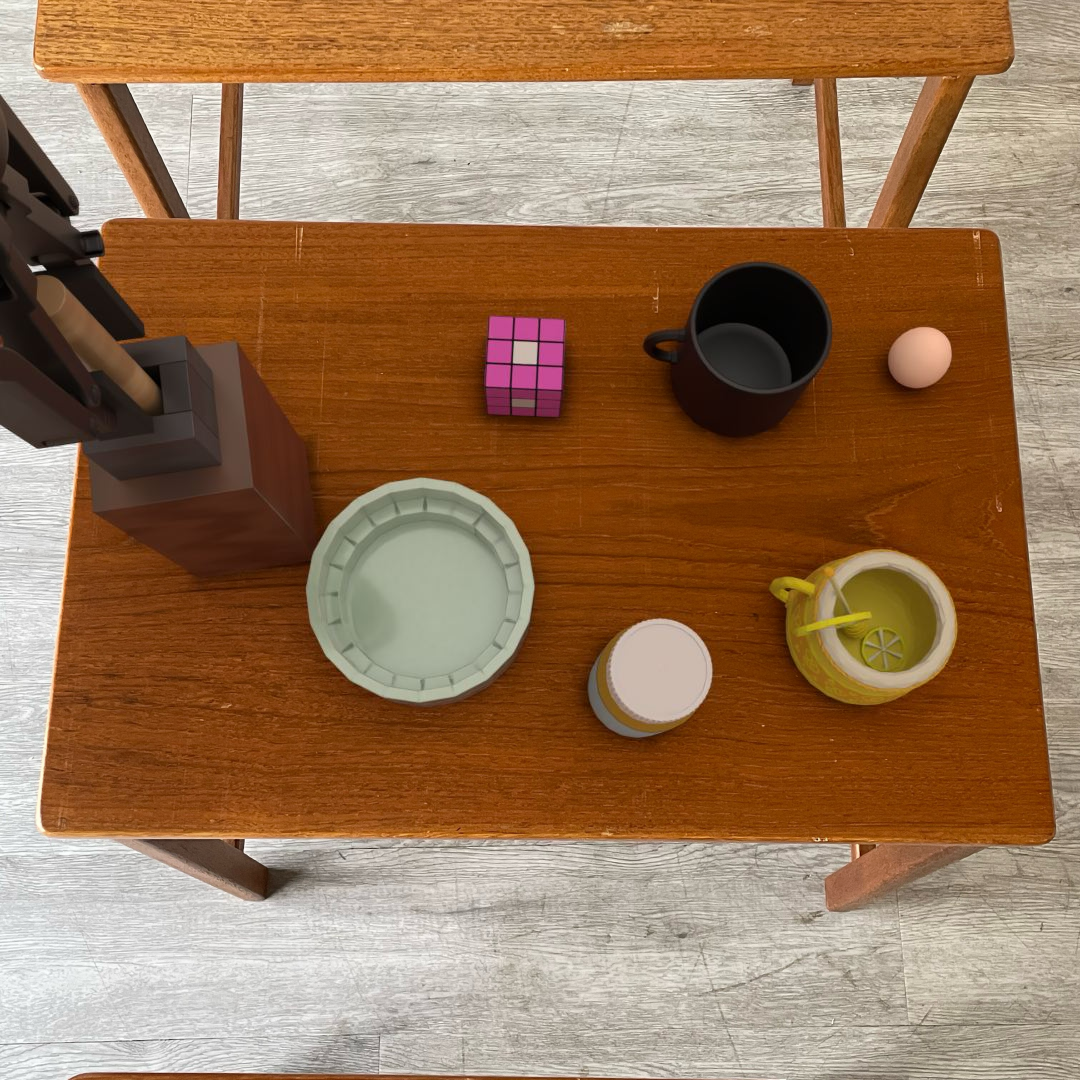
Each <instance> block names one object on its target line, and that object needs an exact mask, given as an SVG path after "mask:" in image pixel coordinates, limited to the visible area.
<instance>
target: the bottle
mask: <svg viewBox="0 0 1080 1080" xmlns="http://www.w3.org/2000/svg"><path fill="white" fill-rule="evenodd" d="M713 670H714V669H713V663H712V657H711V655H710V652H709V650H708V647H707V646H706V644H705V642H704V641H703V640H702V638H701V636H699V635H698V634H697V632H695V631H694V629H692V628H690V627H689V626H687V625H685V624H684V623H682V622H679V621H677V620H673V619H667V618H660V617H658V618H652V619H647V620H642V621H641V622H637V623H635V624H632V625H630V626H628V627H626V628H624V629H622V630H621V631H619V632H617V633H616V634H615V635H614V636H613V637H612V638H611V639H610V640H609V641H608V642H607V643H606V645H605V646H604V648H603V649H602V651H601V652H600V654H599V655H598V657H597V658H596V659H595V662H594V664H593V665H592V668H591V669H590V673H589V676H588V682H587V693H588V700H589V704H590V706H591V708H592V710H593V713H594V715H595V716H596V718H597V719H598V720H599V721H600V722H601V724H603V725H604V726H605V727H606V728H607V729H609V730H610V731H612V732H614V733H616V734H618V735H619V736H624V737H628V738H637V739H638V738H645V737H646V738H647V737H652V736H655V735H658V734H661V733H664V732H668V731H671V730H673V729H675V728H677V727H679V726H680V725H682V724H684V723H685V722H687V721H688V720H689V719H690V718H691V717H692V716H693V714H695V713H696V711H697V710H698V708H699V707H700V705H701V704H703V703H704V700H705V699H706V697H707V694H709V690H710V689H711V684H712V681H713V680H712V678H713Z"/></svg>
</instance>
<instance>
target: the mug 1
mask: <svg viewBox="0 0 1080 1080" xmlns="http://www.w3.org/2000/svg"><path fill="white" fill-rule="evenodd" d="M691 305H692V306H691V309H690V311H689V314H688V317H687V319H686V322H685V325H684V327H681V328H680V327H679V328H675V329H673V328H671V329H670V328H669V329H662V330H661V329H660V330H658V331H654V332H652V333H649V334H648V335H647V336H646V337H645V338H644V340H643V345H642V350H643V352H644V353H645V354H647V355H648V357H650V358H651V359H654V360H656V361H657V362H661V363H668V364H669V365H670V366H671V370H670V372H671V373H670V374H671V383H672V384H671V385H672V388H673V389H672V390H673V392H674V394H675V398H676V399H677V401H678V403H679V404H680V407H681V408H682V409H683V411H684V412H685V413H686V414H687V416H689V417H690V418H691V419H692V420H693V421H694V422H695V423H697V424H698V425H699V426H701V427H703V428H704V429H707V430H708V431H711V432H712V433H716V434H719V435H723V436H729V437H750V436H754V435H759V434H761V433H764V432H766V431H767V430H770V429H772V428H773V427H774V426H776V425H778V424H779V423H780V422H781V421H783V420H784V418H785V417H786V416H787V415H788V413H789V412H790V411H791V409H792V408H793V407H794V406H795V404H796V403H797V401H798V400H799V399H800V397H801V396H802V394H803V393H804V392H805V390H806V389H807V388H808V386H809V385H810V384H811V382H812V381H813V379H814V378H815V377H816V375H817V374H818V373H819V372H820V370H821V369H822V367H823V366H824V364H825V363H826V360H827V358H828V356H829V354H830V351H831V348H832V343H833V334H834V333H833V321H832V317H831V313H830V310H829V307H828V305H827V303H826V301H825V299H824V297H823V295H822V294H821V292H820V291H819V290H818V289H817V288H816V286H815V285H814V284H813V283H812V282H811V281H810V280H808V278H806V277H805V276H803V275H802V274H800V273H799V272H798V271H795V270H794V269H792V268H790V267H787V266H785V265H781V264H779V263H774V262H769V261H746V262H741V263H737V264H734V265H731V266H729V267H726V268H725V269H721V271H719V272H717V273H716V274H714V275H713V276H711V278H710V279H709V280H707V281H706V282H705V283H704V285H703V286H702V287H701V288H700V290H699V291H698V293H697V295H696V297H695V299H694V300H693V303H692V304H691ZM666 342H677V343H678V344H677V347H676V350H673V349H672V350H665V349H662V348H659V347H658V346H657V345H658V344H661V343H666Z"/></svg>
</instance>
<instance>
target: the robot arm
mask: <svg viewBox="0 0 1080 1080" xmlns="http://www.w3.org/2000/svg"><path fill="white" fill-rule="evenodd" d="M79 214H80V202H79V198H78V196H77V195H76V193H75V191H74V190H73V188H72V187H71V185H70V184H69V183H68V182H67V180H66V179H65V178H64V176H63V175H62V174H61V173H60V171H59V169H58V168H57V167H56V166H55V164H54V163H53V162H52V161H51V159H50V158H49V157H48V155H47V154H46V152H45V151H44V150H43V149H42V147H41V146H40V144H39V143H38V141H36V139H35V138H34V137H33V136H32V134H31V133H30V131H29V130H28V129H27V127H26V126H25V125H24V123H23V122H22V120H21V119H20V118H19V117H18V116H17V114H16V113H15V111H14V110H13V109H12V107H11V106H10V105H9V103H8V102H7V100H6V99H5V98H4V97H3V96H2V94H1V93H0V426H1V427H3V428H4V429H6V430H7V431H8V432H10V433H12V434H13V435H14V436H16V437H18V438H19V439H21V440H22V441H24V442H26V443H27V444H28V445H29V446H32V447H33V448H34V449H37V450H41V449H49V448H54V447H60V446H69V445H74V444H79V443H80V444H82V442H88V441H94V440H97V439H98V440H99V441H105V440H112V439H118V438H125V437H131V436H138V435H144V434H151V433H154V424H153V418H151V417H150V416H149V415H148V414H147V413H146V412H145V411H144V410H143V409H142V408H141V407H140V406H139V405H138V404H137V403H136V402H135V401H134V400H133V399H132V398H131V397H130V396H129V395H128V394H127V393H126V392H125V391H124V390H123V389H122V388H120V387H119V386H118V385H117V384H116V383H115V382H114V381H113V380H112V379H111V378H110V377H109V376H108V375H107V374H106V373H105V372H104V371H103V370H99V371H92V372H89V371H88V370H87V369H86V367H85V366H84V364H83V363H82V362H81V360H80V359H79V357H78V356H77V355H76V353H75V352H74V350H73V349H72V348H71V346H70V345H69V343H68V342H67V341H66V339H65V338H64V336H63V335H62V333H61V332H60V331H59V329H58V328H57V326H56V325H55V324H54V322H53V321H52V319H51V318H50V317H49V315H48V314H47V312H46V311H45V310H44V308H43V307H42V305H41V304H40V303H39V301H38V300H37V283H38V280H37V278H36V276H39V275H48V276H52V277H55V278H57V279H58V280H59V281H61V283H62V284H63V285H64V286H65V287H66V288H67V289H68V290H69V291H70V292H71V293H72V294H73V295H74V296H75V298H76V299H77V300H78V301H79V302H80V303H81V304H82V305H83V306H84V307H85V308H86V309H87V310H88V311H89V313H90V314H91V315H92V316H93V317H94V318H95V319H96V320H97V321H98V322H99V323H100V324H101V325H102V326H103V328H104V329H105V330H106V331H107V332H108V333H109V334H110V335H111V336H112V337H113V338H114V339H115V340H116V341H117V342H123V341H130V340H136V339H143V338H146V329H145V323H144V322H143V321H142V320H141V318H140V317H139V316H138V315H137V314H136V313H135V311H134V309H132V307H131V306H130V305H129V304H128V303H127V301H126V300H125V298H123V296H122V295H120V293H119V292H118V290H116V289H115V287H114V286H113V285H112V284H111V282H110V281H109V280H108V279H107V278H106V276H105V275H104V273H102V272H101V270H100V268H99V267H98V266H97V265H96V264H95V263H94V261H93V260H92V259H96V258H102V257H105V255H106V246H105V243H104V238H103V236H102V234H101V232H100V231H99V230H98V229H92V230H85V231H80V230H79V229H78V228H76V226H74V225H72V221H71V217H77V216H79ZM39 266H42V267H43V268H44V270H37V271H33V270H32V269H31V267H39Z"/></svg>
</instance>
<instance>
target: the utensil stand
mask: <svg viewBox="0 0 1080 1080" xmlns="http://www.w3.org/2000/svg"><path fill="white" fill-rule="evenodd" d="M118 344H119V345H120V346H121V347H122V348H123V349H124V350H125V351H126V352H127V353H128V354H129V355H130V356H131V358H132V359H133V360H134V361H135V362H136V363H137V364H138V365H139V366H140V367H141V368H142V369H143V370H144V371H145V373H146V374H147V375H148V376H149V377H150V378H151V379H152V380H153V381H154V382H155V383H156V384H157V385H158V386H159V388H160V389H161V390H162V400H163V410H164V415H160V416H153V417H151V418H153V424H154V433H151V434H144V435H138V436H131V437H125V438H118V439H112V440H105V441H99V440H98V439H97V440H94V441H88V442H81V448H82V449H81V450H82V455H84V456H85V457H86V458H87V460H88V471H89V481H90V482H89V483H90V484H89V485H90V496H91V497H90V498H91V507H92V508H91V509H92V513H93V514H94V515H95V516H98V517H99V518H101V519H102V520H104V521H106V522H108V523H109V524H111V525H112V526H114V527H116V528H117V529H119V530H120V531H122V532H123V533H126V534H127V535H129V536H130V537H131V538H133V539H135V540H137V541H138V542H140V543H142V544H144V545H145V546H147V547H148V548H150V549H152V550H153V551H155V552H157V554H160V555H161V556H163V557H165V558H166V559H168V560H170V562H172V563H174V564H176V565H178V566H179V567H181V568H182V569H184V570H186V571H188V572H189V573H191V574H192V575H194V576H196V577H198V578H199V579H204V578H205V579H206V578H213V577H218V576H225V575H231V574H236V573H242V572H248V571H249V572H250V571H256V570H260V569H261V570H262V569H268V568H274V567H281V566H287V565H292V564H299V563H304V562H311V559H312V555H313V552H314V550H315V548H316V547H317V545H318V543H319V539H318V531H317V523H316V515H315V507H314V499H313V491H312V483H311V477H310V476H311V475H310V468H309V459H308V452H307V447H306V445H305V443H304V441H303V440H302V438H301V437H300V435H299V433H298V432H297V431H296V429H295V428H294V426H293V424H292V423H291V422H290V420H289V419H288V417H287V415H286V413H285V412H284V411H283V409H282V408H281V406H280V404H279V403H278V401H277V400H276V399H275V397H274V395H273V394H272V392H271V391H270V389H269V388H268V386H267V384H265V382H264V380H263V378H262V377H261V376H260V374H259V373H258V371H257V370H256V368H255V366H254V365H253V363H252V362H251V360H250V359H249V357H248V356H247V354H246V353H245V352H244V350H243V348H242V346H241V345H240V344H239V342H238V341H237V340H232V341H226V342H225V341H224V342H219V343H211V344H205V345H197V346H193V344H192V343H191V341H190V340H189V339H188V337H187V336H186V334H179V335H172V336H165V337H159V338H152V339H146V340H138V341H133V342H132V341H131V342H125V343H118Z"/></svg>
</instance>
